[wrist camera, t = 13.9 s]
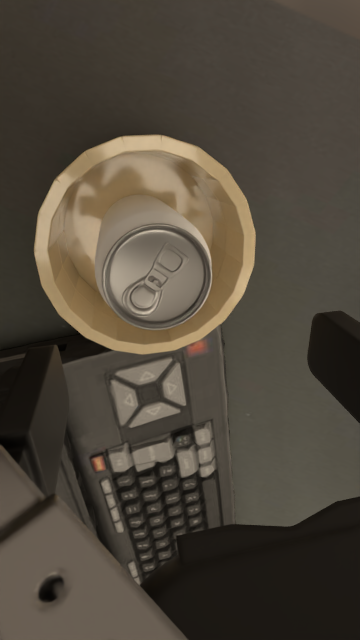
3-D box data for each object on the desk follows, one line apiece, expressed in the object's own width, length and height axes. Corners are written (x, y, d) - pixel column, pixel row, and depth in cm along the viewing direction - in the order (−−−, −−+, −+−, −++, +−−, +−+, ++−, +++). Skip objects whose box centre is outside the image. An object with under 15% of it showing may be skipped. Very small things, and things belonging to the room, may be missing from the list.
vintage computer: (240, 566, 50) (260, 633, 43) (42, 617, 48) (28, 697, 41) (211, 298, 32) (237, 336, 25) (-108, 359, 30) (-181, 420, 23)
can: (83, 245, 27) (66, 297, 17) (129, 175, 26) (142, 184, 15) (149, 287, 30) (171, 357, 19) (194, 226, 28) (245, 265, 18)
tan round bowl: (37, 146, 24) (8, 139, 17) (220, 139, 26) (261, 130, 19) (71, 318, 30) (59, 366, 23) (219, 301, 32) (250, 341, 25)
